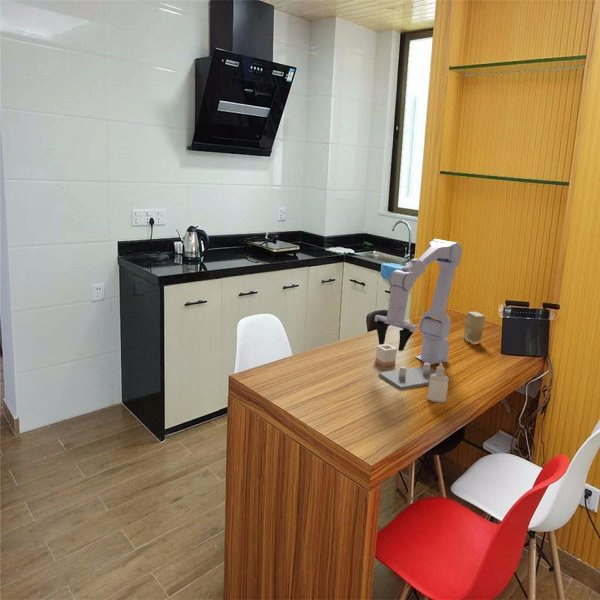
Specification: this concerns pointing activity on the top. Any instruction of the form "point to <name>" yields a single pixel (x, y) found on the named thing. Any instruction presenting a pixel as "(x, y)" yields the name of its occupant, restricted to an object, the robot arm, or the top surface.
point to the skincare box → (474, 327)
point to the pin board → (409, 376)
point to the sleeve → (386, 355)
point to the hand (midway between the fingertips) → (391, 347)
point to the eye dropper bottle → (438, 385)
